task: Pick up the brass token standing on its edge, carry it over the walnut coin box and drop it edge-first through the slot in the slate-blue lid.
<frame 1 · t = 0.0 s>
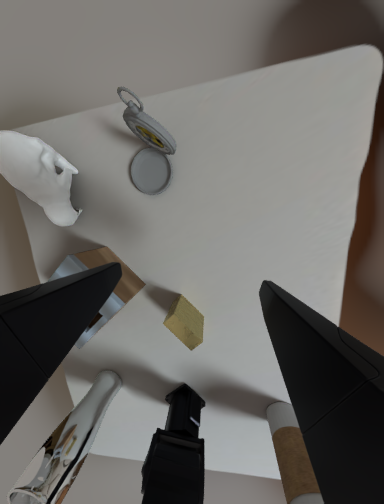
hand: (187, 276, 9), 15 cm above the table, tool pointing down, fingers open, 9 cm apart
white animal skull: (71, 193, 25), on the table
brass token: (188, 309, 27), on the table
beer glass: (110, 379, 33), on the table
pocket watch: (157, 167, 23), on the table
coffee cup: (280, 411, 29), on the table
coin box: (109, 284, 28), on the table
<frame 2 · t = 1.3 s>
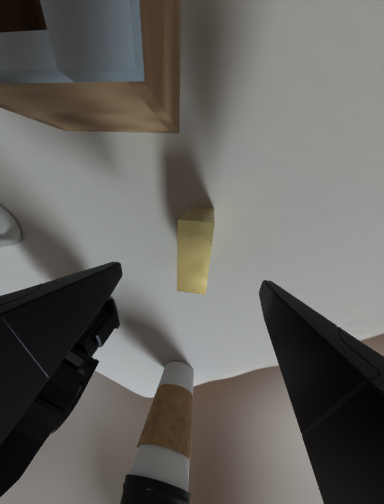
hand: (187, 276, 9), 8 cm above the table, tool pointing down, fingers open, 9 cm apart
brass token: (200, 235, 16), on the table
beer glass: (2, 223, 19), on the table
coffee cup: (179, 368, 29), on the table
coin box: (106, 45, 10), on the table
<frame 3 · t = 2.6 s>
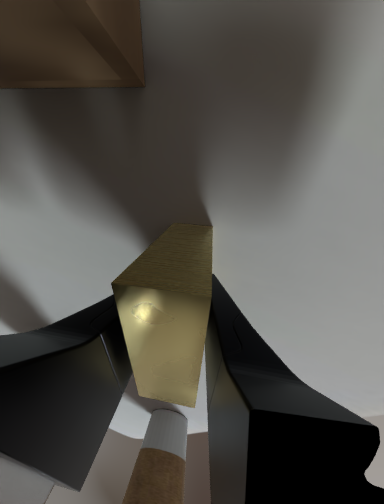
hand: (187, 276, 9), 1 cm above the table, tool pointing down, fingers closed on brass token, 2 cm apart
brass token: (190, 266, 10), on the table, touching gripper
coffee cup: (170, 415, 23), on the table
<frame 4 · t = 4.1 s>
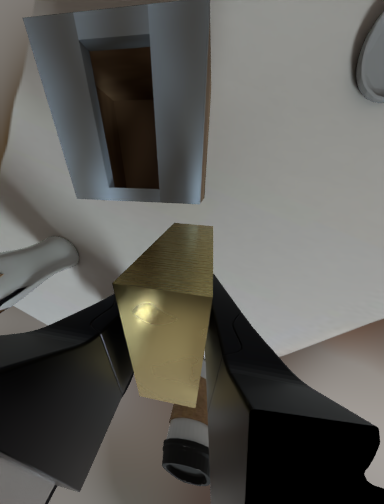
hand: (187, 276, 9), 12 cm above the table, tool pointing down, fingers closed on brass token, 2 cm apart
brass token: (190, 266, 10), point 11 cm above the table, touching gripper
beer glass: (64, 251, 25), on the table
coffee cup: (196, 362, 35), on the table
coin box: (160, 150, 17), on the table
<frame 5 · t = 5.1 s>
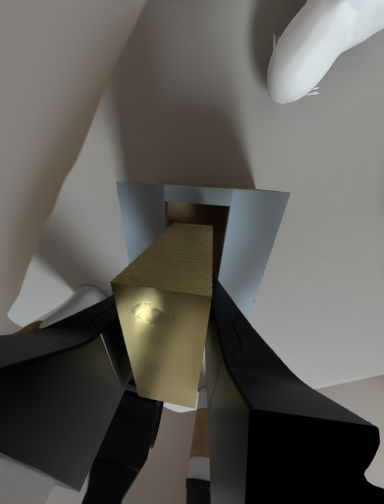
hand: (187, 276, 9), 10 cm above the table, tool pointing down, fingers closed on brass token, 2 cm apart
white animal skull: (329, 25, 10), on the table
brass token: (190, 265, 10), point 9 cm above the table, touching gripper
beer glass: (94, 296, 26), on the table
coffee cup: (210, 392, 36), on the table
coin box: (200, 229, 18), on the table
when the fingers open (8 cm above the table, at t = 5.5 s): brass token drops 7 cm, resting on coin box.
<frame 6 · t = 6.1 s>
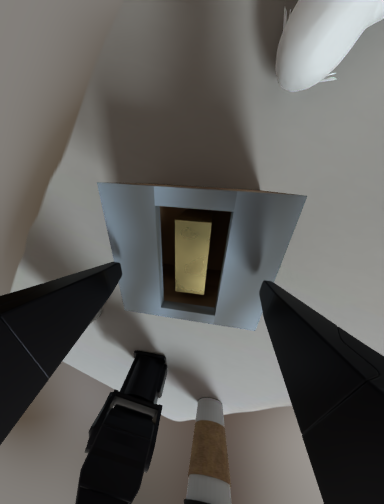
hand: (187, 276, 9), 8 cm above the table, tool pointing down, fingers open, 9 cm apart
brass token: (198, 235, 16), point 1 cm above the table, touching coin box
coffee cup: (210, 402, 35), on the table
coin box: (199, 234, 16), on the table
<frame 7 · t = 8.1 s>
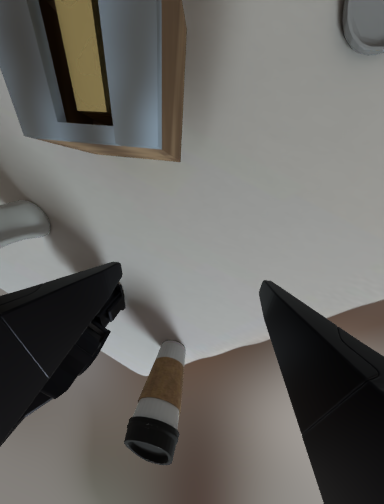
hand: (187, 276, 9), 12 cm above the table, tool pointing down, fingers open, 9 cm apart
brass token: (129, 99, 15), resting on coin box
beer glass: (34, 218, 24), on the table
coffee cup: (173, 347, 34), on the table
coin box: (133, 102, 15), on the table
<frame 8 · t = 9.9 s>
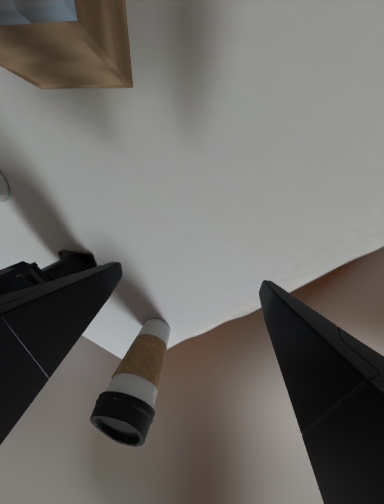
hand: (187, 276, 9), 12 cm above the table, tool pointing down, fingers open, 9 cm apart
coffee cup: (157, 326, 31), on the table
coin box: (70, 12, 13), on the table
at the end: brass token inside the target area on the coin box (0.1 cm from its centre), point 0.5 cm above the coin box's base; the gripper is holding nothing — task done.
